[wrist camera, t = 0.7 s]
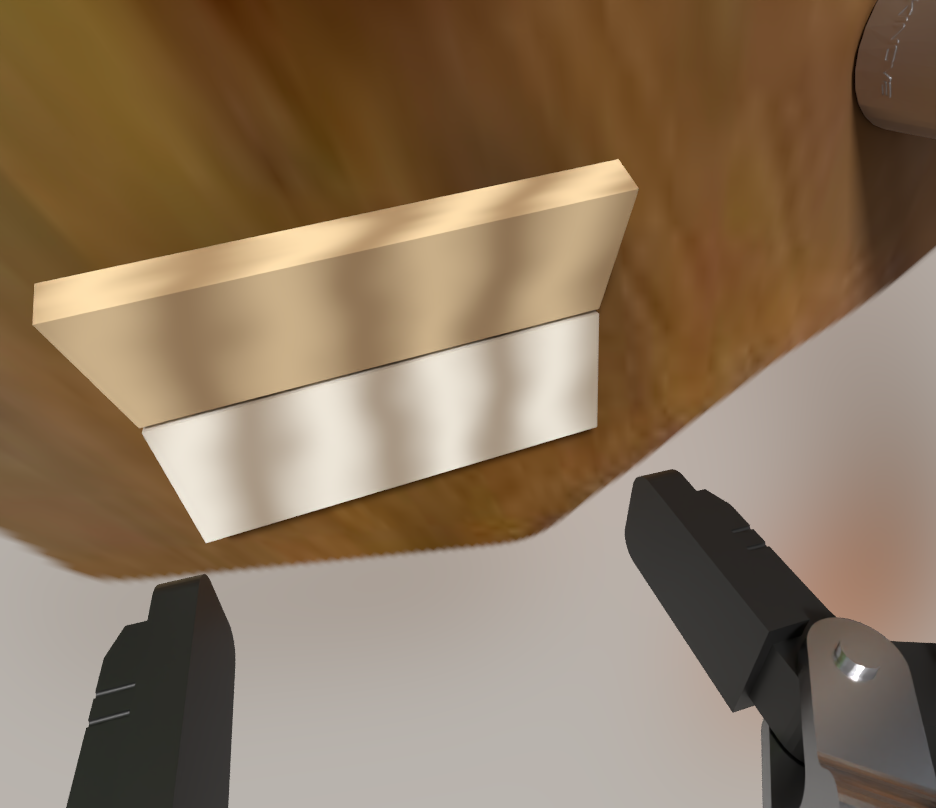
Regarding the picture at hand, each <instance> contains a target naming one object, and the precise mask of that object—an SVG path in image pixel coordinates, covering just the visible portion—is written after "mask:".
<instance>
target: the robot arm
mask: <svg viewBox="0 0 936 808" xmlns="http://www.w3.org/2000/svg"><path fill="white" fill-rule="evenodd" d="M855 90H856V94H857V99H858V104H859V106H860V108H861V110H862V112H863V114H864V116H865V117H866V118H867V119H868V120H869V121H870V122H871V123H872V124H873V125H875V126H877V127H880V128H882V129H885V130H890V131H895V132H900V133H905V134H911V135H916V136H921V137H926V138H931V139H936V0H878V1H877V3H876V5H875V7H874V10H873V12H872V14H871V16H870V18H869V21H868V23H867V25H866V27H865V31H864V34H863V37H862V40H861V44H860V47H859V51H858V57H857V63H856V69H855ZM625 540H626V545H627V548H628V551H629V554H630V556H631V558H632V560H633V562H634V563H635V565H636V566H637V568H638V569H639V571H640V572H641V574H642V575H643V577H644V578H645V580H646V581H647V583H648V585H649V586H650V587H651V589H652V591H653V592H654V594H655V595H656V597H657V598H658V600H659V601H660V603H661V604H662V606H663V607H664V609H665V610H666V612H667V613H668V615H669V616H670V618H671V619H672V621H673V623H674V624H675V626H676V627H677V629H678V630H679V632H680V633H681V635H682V636H683V638H684V639H685V641H686V642H687V644H688V645H689V647H690V648H691V650H692V651H693V653H694V654H695V656H696V657H697V659H698V660H699V662H700V663H701V665H702V666H703V668H704V670H705V671H706V673H707V674H708V676H709V677H710V679H711V680H712V682H713V683H714V685H715V686H716V688H717V689H718V691H719V692H720V694H721V695H722V697H723V698H724V700H725V702H726V703H727V705H728V706H729V708H730V709H731V711H732V712H736V711H739V710H742V709H745V708H748V707H751V706H754V705H755V706H756V708H757V709H758V711H759V712H760V714H761V715H762V716H763V718H764V719H763V722H762V729H761V745H762V797H763V798H762V799H763V808H936V643H917V642H896V641H889V640H888V639H887V638H886V637H885V636H883V635H882V634H880V633H879V632H878V631H876V630H874V629H872V628H871V627H869V626H867V625H864V624H862V623H860V622H857V621H854V620H851V619H845V618H837V617H836V616H834V615H833V614H832V613H831V612H830V611H829V610H828V609H827V608H826V607H825V606H824V605H823V604H822V603H821V602H820V600H819V599H818V598H817V597H816V596H815V595H814V594H813V593H812V592H811V591H810V590H809V589H808V587H807V586H805V584H804V583H803V582H802V581H801V580H800V579H799V578H798V577H797V576H796V575H795V574H794V572H792V570H791V569H790V568H789V567H788V566H787V565H786V564H785V563H784V562H783V561H782V560H781V558H780V557H779V556H778V555H777V554H776V553H775V552H774V551H773V550H772V549H771V548H770V547H767V546H766V545H765V541H764V540H763V539H762V538H761V537H760V536H759V535H758V534H757V533H756V531H754V529H752V530H751V529H750V525H749V524H748V523H747V522H746V521H745V520H744V519H743V518H742V516H741V515H740V514H739V513H738V512H737V511H736V510H735V509H734V508H733V507H732V506H731V505H730V504H729V503H727V502H725V501H724V500H722V499H720V498H719V497H717V496H715V495H714V494H712V493H710V492H709V491H707V490H706V489H704V490H700V491H696V490H695V489H694V488H693V487H692V486H691V484H690V483H689V482H688V481H687V480H686V479H685V478H684V476H683V475H682V474H681V473H680V472H678V471H676V470H673V469H672V470H667V471H662V472H658V473H653V474H649V475H645V476H641V477H637V478H636V479H635V481H634V483H633V488H632V493H631V499H630V504H629V510H628V515H627V522H626V527H625ZM234 679H235V647H234V640H233V635H232V631H231V627H230V625H229V622H228V620H227V618H226V616H225V613H224V611H223V609H222V607H221V604H220V602H219V600H218V597H217V595H216V593H215V590H214V588H213V586H212V584H211V581H210V579H209V578H208V576H207V575H206V574H203V575H198V576H194V577H189V578H185V579H181V580H177V581H172V582H167V583H163V584H159V585H157V586H156V587H155V589H154V592H153V595H152V600H151V605H150V610H149V615H148V620H147V621H144V622H140V623H136V624H131V625H127V626H125V627H124V629H123V630H122V632H121V633H120V635H119V636H118V638H117V640H116V641H115V642H114V644H113V645H112V647H111V648H110V650H109V651H108V653H107V654H106V656H105V657H104V660H103V664H102V668H101V672H100V676H99V680H98V684H97V688H96V698H95V699H94V700H93V704H92V708H91V711H90V715H89V719H88V721H89V727H88V728H86V731H85V735H84V739H83V743H82V747H81V751H80V755H79V759H78V763H77V767H76V771H75V775H74V779H73V783H72V787H71V791H70V795H69V799H68V803H67V807H66V808H228V800H229V799H228V798H229V779H230V758H231V739H232V738H231V737H232V719H233V718H232V717H233V699H234Z"/></svg>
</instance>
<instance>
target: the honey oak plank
mask: <svg viewBox="0 0 936 808" xmlns="http://www.w3.org/2000/svg"><path fill="white" fill-rule="evenodd" d="M638 190H639V188H638V187H637V185H636V184H635V183H634V181H633V180H632V178H631V177H630V175H629V174H628V172H627V171H626V169H625V168H624V167H623V165H622V164H621V162H620V161H619V159H617V160H613V161H608V162H603V163H599V164H594V165H589V166H585V167H580V168H575V169H571V170H566V171H561V172H556V173H552V174H547V175H542V176H538V177H533V178H528V179H524V180H519V181H514V182H510V183H505V184H500V185H495V186H491V187H486V188H481V189H477V190H472V191H467V192H463V193H458V194H453V195H449V196H444V197H439V198H435V199H430V200H425V201H420V202H416V203H411V204H406V205H402V206H397V207H392V208H388V209H383V210H378V211H374V212H369V213H364V214H360V215H355V216H350V217H345V218H341V219H336V220H331V221H327V222H322V223H317V224H313V225H308V226H303V227H299V228H294V229H289V230H284V231H280V232H275V233H270V234H266V235H261V236H256V237H252V238H247V239H242V240H238V241H233V242H228V243H224V244H219V245H214V246H209V247H205V248H200V249H195V250H191V251H186V252H181V253H177V254H172V255H167V256H163V257H158V258H153V259H149V260H144V261H139V262H134V263H130V264H125V265H120V266H116V267H111V268H106V269H102V270H97V271H92V272H88V273H83V274H78V275H73V276H69V277H64V278H59V279H55V280H50V281H45V282H41V283H36V284H34V306H33V326H34V327H35V328H36V329H37V330H38V331H39V332H41V333H42V334H43V335H44V336H45V337H46V338H47V339H48V340H49V341H50V342H51V343H52V344H53V345H54V346H55V347H56V348H57V349H58V350H59V351H60V352H61V353H62V354H63V355H64V356H65V357H66V358H67V359H68V360H69V361H70V362H71V363H72V364H73V365H75V366H76V367H77V368H78V369H79V370H80V371H81V372H82V373H83V374H84V375H85V376H86V377H87V378H88V379H89V380H90V381H91V382H92V383H93V384H94V385H95V386H96V387H97V388H98V389H99V390H100V391H101V392H102V393H103V394H104V395H105V396H106V397H107V398H109V399H110V400H111V401H112V402H113V403H114V404H115V405H116V406H117V407H118V408H119V409H120V410H121V411H122V412H123V413H124V414H125V415H126V416H127V417H128V418H129V419H130V420H131V421H132V422H133V423H134V424H135V425H136V426H137V427H138V428H142V427H146V426H150V425H153V424H157V423H161V422H165V421H169V420H173V419H177V418H180V417H184V416H188V415H192V414H196V413H200V412H204V411H207V410H211V409H215V408H219V407H223V406H227V405H230V404H234V403H238V402H242V401H246V400H250V399H254V398H257V397H261V396H265V395H269V394H273V393H277V392H281V391H284V390H288V389H292V388H296V387H300V386H304V385H307V384H311V383H315V382H319V381H323V380H327V379H331V378H334V377H338V376H342V375H346V374H350V373H354V372H357V371H361V370H365V369H369V368H373V367H377V366H381V365H384V364H388V363H392V362H396V361H400V360H404V359H408V358H411V357H415V356H419V355H423V354H427V353H431V352H434V351H438V350H442V349H446V348H450V347H454V346H458V345H461V344H465V343H469V342H473V341H477V340H481V339H485V338H488V337H492V336H496V335H500V334H504V333H508V332H511V331H515V330H519V329H523V328H527V327H531V326H535V325H538V324H542V323H546V322H550V321H554V320H558V319H562V318H565V317H569V316H573V315H577V314H581V313H585V312H588V311H592V310H596V309H599V307H600V304H601V301H602V298H603V295H604V292H605V289H606V286H607V283H608V280H609V277H610V274H611V271H612V268H613V265H614V262H615V259H616V256H617V253H618V250H619V247H620V244H621V241H622V238H623V235H624V232H625V229H626V226H627V223H628V220H629V217H630V214H631V211H632V208H633V205H634V202H635V199H636V196H637V193H638Z"/></svg>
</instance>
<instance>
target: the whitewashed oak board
mask: <svg viewBox="0 0 936 808" xmlns="http://www.w3.org/2000/svg"><path fill="white" fill-rule="evenodd" d="M598 338H599V313H598V312H596V311H595V310H592V311H588V312H585V313H581V314H577V315H573V316H569V317H565V318H562V319H558V320H554V321H550V322H546V323H542V324H538V325H535V326H531V327H527V328H523V329H519V330H515V331H511V332H508V333H504V334H500V335H496V336H492V337H488V338H485V339H481V340H477V341H473V342H469V343H465V344H461V345H458V346H454V347H450V348H446V349H442V350H438V351H434V352H431V353H427V354H423V355H419V356H415V357H411V358H408V359H404V360H400V361H396V362H392V363H388V364H384V365H381V366H377V367H373V368H369V369H365V370H361V371H357V372H354V373H350V374H346V375H342V376H338V377H334V378H331V379H327V380H323V381H319V382H315V383H311V384H307V385H304V386H300V387H296V388H292V389H288V390H284V391H281V392H277V393H273V394H269V395H265V396H261V397H257V398H254V399H250V400H246V401H242V402H238V403H234V404H230V405H227V406H223V407H219V408H215V409H211V410H207V411H204V412H200V413H196V414H192V415H188V416H184V417H180V418H177V419H173V420H169V421H165V422H161V423H157V424H153V425H150V426H146V427H143V431H142V434H143V436H144V437H145V439H146V441H147V443H148V444H149V446H150V448H151V449H152V451H153V453H154V455H155V456H156V458H157V460H158V462H159V463H160V465H161V467H162V468H163V470H164V472H165V474H166V475H167V477H168V479H169V480H170V482H171V484H172V486H173V487H174V489H175V491H176V492H177V494H178V496H179V498H180V499H181V501H182V503H183V504H184V506H185V508H186V510H187V511H188V513H189V515H190V517H191V518H192V520H193V522H194V523H195V525H196V527H197V529H198V530H199V532H200V534H201V535H202V537H203V539H204V541H205V542H206V543H208V542H211V541H215V540H218V539H222V538H225V537H228V536H232V535H235V534H238V533H242V532H245V531H248V530H252V529H255V528H259V527H262V526H265V525H269V524H272V523H275V522H279V521H282V520H285V519H289V518H292V517H296V516H299V515H302V514H306V513H309V512H312V511H316V510H319V509H322V508H326V507H329V506H333V505H336V504H339V503H343V502H346V501H349V500H353V499H356V498H359V497H363V496H366V495H370V494H373V493H376V492H380V491H383V490H386V489H390V488H393V487H396V486H400V485H403V484H407V483H410V482H413V481H417V480H420V479H423V478H427V477H430V476H433V475H437V474H440V473H444V472H447V471H450V470H454V469H457V468H460V467H464V466H467V465H470V464H474V463H477V462H481V461H484V460H487V459H491V458H494V457H497V456H501V455H504V454H507V453H511V452H514V451H517V450H521V449H524V448H528V447H531V446H534V445H538V444H541V443H544V442H548V441H551V440H554V439H558V438H561V437H565V436H568V435H571V434H575V433H578V432H581V431H585V430H588V429H591V428H595V427H597V397H598Z"/></svg>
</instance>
